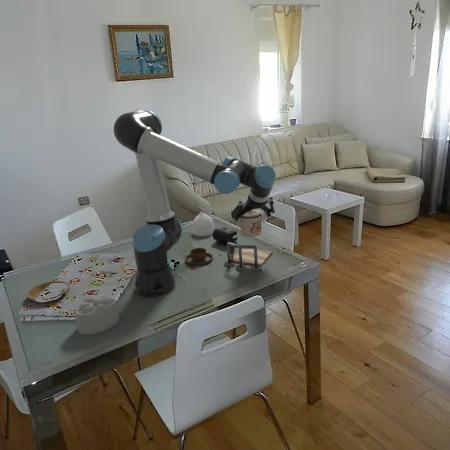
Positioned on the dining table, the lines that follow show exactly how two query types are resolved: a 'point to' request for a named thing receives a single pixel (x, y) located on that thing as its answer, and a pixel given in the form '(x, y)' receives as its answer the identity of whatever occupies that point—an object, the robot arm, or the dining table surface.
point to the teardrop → (203, 225)
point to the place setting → (202, 256)
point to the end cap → (224, 235)
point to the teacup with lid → (251, 223)
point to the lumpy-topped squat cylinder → (96, 314)
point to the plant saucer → (39, 288)
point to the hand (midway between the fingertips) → (250, 221)
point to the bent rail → (241, 267)
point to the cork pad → (252, 256)
